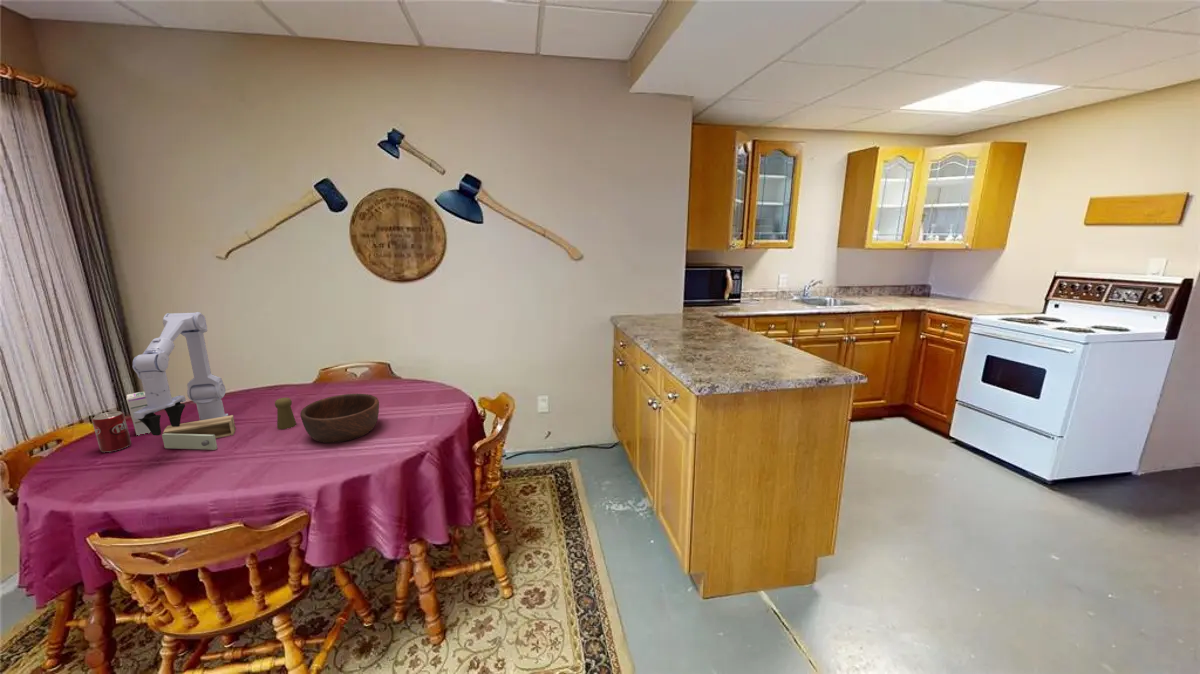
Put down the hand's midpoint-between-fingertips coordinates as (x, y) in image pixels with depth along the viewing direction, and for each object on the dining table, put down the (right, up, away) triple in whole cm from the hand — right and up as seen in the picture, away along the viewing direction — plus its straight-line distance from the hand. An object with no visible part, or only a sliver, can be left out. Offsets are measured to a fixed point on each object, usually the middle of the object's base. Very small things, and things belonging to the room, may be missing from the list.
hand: (166, 430), depth 144 cm
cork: (+21, -4, +26) cm, 33 cm away
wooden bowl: (+45, -5, +22) cm, 50 cm away
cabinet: (-2, -6, +16) cm, 17 cm away
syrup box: (-27, -5, +20) cm, 34 cm away
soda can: (-24, -8, +8) cm, 27 cm away
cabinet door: (+1, -8, +7) cm, 10 cm away
